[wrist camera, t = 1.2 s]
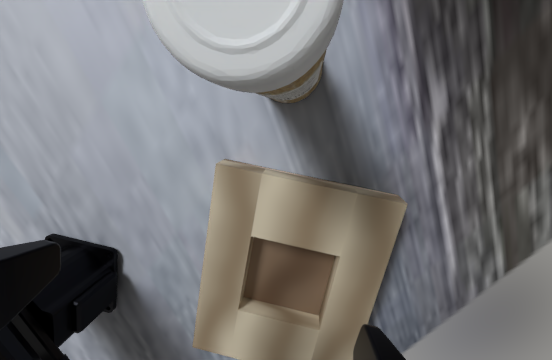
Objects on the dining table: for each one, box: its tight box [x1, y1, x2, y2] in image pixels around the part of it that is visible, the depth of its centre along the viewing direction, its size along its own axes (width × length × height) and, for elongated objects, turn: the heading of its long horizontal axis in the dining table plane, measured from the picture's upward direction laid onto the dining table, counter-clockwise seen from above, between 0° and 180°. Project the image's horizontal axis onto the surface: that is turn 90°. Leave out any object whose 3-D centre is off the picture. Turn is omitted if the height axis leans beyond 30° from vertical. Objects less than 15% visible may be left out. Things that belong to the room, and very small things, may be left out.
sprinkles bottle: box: [142, 0, 343, 103], centre depth 12 cm, size 5×5×14 cm
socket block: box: [193, 159, 408, 360], centre depth 21 cm, size 13×16×2 cm
